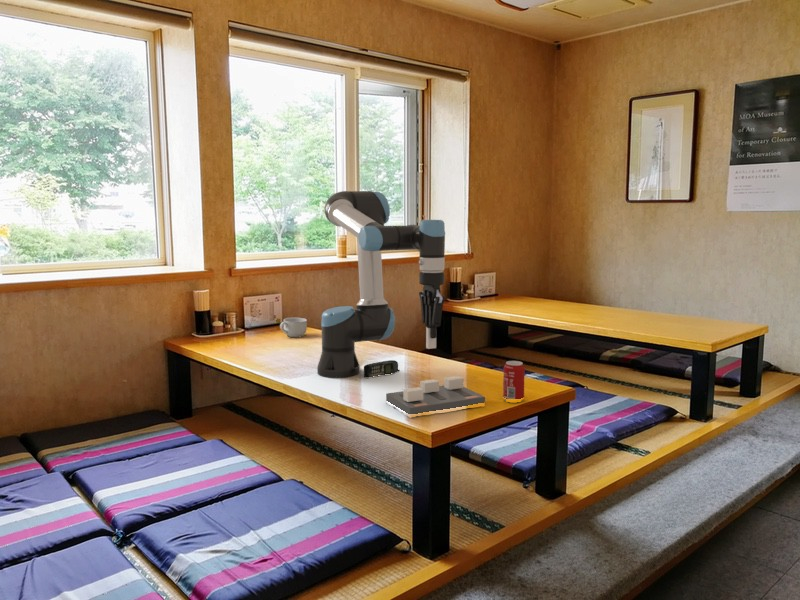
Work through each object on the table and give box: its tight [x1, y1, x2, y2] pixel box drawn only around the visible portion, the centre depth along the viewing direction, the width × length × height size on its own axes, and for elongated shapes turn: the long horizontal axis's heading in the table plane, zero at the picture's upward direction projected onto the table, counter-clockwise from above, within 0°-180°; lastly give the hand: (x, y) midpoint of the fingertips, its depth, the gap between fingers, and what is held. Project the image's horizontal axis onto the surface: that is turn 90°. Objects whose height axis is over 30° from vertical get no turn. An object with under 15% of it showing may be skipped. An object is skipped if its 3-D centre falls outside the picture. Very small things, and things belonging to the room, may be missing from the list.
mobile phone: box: [363, 359, 400, 378], centre depth 229 cm, size 5×3×15 cm
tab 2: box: [419, 378, 440, 393], centre depth 197 cm, size 3×5×3 cm, turn 116°
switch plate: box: [385, 385, 486, 414], centre depth 194 cm, size 16×25×3 cm, turn 116°
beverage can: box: [502, 360, 526, 399], centre depth 197 cm, size 6×6×12 cm
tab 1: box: [402, 386, 423, 402], centre depth 188 cm, size 3×5×3 cm, turn 116°
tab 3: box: [443, 375, 464, 390], centre depth 200 cm, size 3×5×3 cm, turn 116°
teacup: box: [279, 317, 308, 338], centre depth 297 cm, size 14×11×8 cm
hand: (431, 347), depth 198 cm, fingers closed
